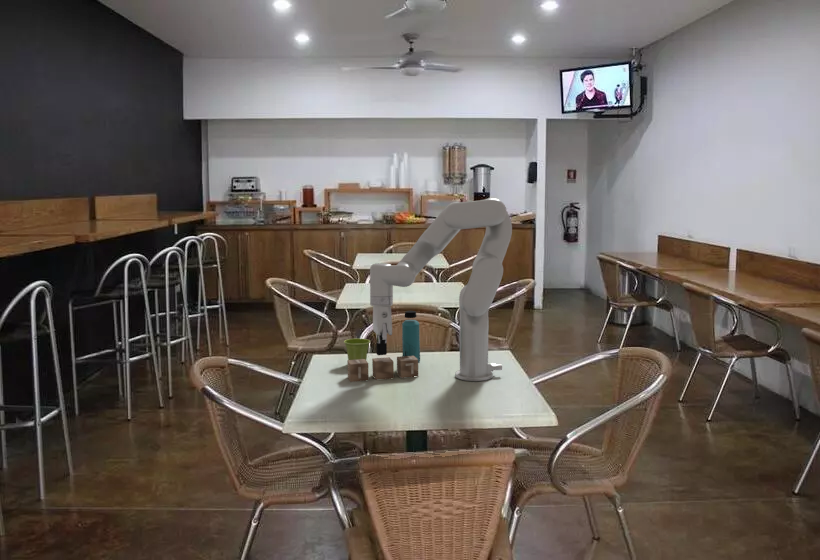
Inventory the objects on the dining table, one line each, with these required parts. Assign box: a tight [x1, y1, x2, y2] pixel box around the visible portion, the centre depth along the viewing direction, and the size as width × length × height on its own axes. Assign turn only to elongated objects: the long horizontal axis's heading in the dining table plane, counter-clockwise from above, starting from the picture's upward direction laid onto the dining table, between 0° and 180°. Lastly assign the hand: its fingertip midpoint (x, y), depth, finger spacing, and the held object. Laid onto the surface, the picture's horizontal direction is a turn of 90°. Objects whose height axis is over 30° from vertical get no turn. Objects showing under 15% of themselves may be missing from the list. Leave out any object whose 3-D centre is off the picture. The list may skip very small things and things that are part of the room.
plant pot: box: [343, 338, 371, 361], centre depth 257 cm, size 9×9×9 cm
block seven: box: [396, 355, 419, 379], centre depth 242 cm, size 6×6×6 cm
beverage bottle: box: [401, 310, 421, 364], centre depth 253 cm, size 6×7×20 cm
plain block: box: [371, 356, 395, 381], centre depth 240 cm, size 6×6×6 cm
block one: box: [347, 359, 370, 383], centre depth 238 cm, size 6×6×6 cm
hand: (381, 354), depth 239 cm, fingers closed
